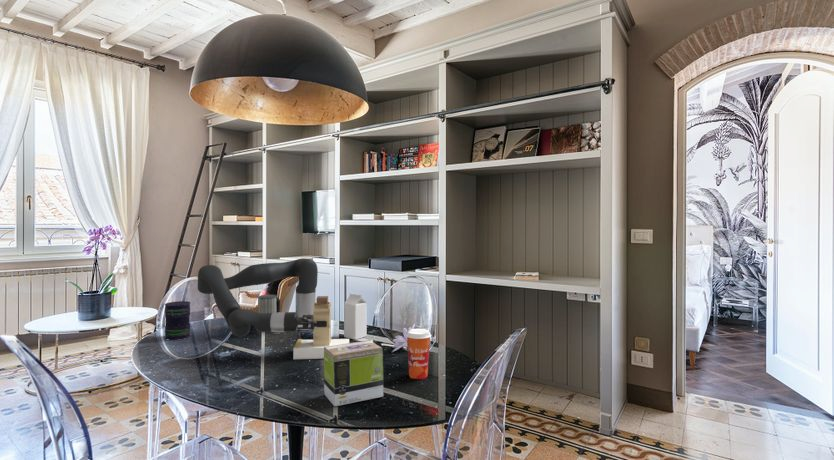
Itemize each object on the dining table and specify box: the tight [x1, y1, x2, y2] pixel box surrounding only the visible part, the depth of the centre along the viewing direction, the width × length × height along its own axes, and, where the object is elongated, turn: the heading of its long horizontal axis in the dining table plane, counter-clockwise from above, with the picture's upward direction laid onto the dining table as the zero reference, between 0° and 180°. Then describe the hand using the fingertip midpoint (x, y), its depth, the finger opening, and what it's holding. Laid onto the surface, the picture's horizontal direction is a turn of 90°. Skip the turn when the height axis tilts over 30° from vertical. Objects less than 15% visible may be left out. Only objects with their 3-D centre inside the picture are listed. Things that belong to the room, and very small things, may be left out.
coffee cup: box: [406, 328, 432, 380], centre depth 146 cm, size 8×8×15 cm
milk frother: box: [256, 294, 281, 313], centre depth 216 cm, size 14×16×15 cm
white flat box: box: [292, 338, 350, 360], centre depth 170 cm, size 12×20×4 cm, turn 97°
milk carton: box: [343, 293, 368, 340], centre depth 195 cm, size 7×7×19 cm
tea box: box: [323, 340, 384, 407], centre depth 129 cm, size 15×10×15 cm
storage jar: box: [164, 300, 191, 341], centre depth 192 cm, size 10×10×15 cm
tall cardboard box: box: [312, 301, 332, 346], centre depth 170 cm, size 6×6×16 cm
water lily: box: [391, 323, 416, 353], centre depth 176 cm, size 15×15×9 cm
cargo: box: [316, 295, 329, 305], centre depth 170 cm, size 4×4×4 cm
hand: (327, 321), depth 170 cm, fingers open, 8 cm apart
